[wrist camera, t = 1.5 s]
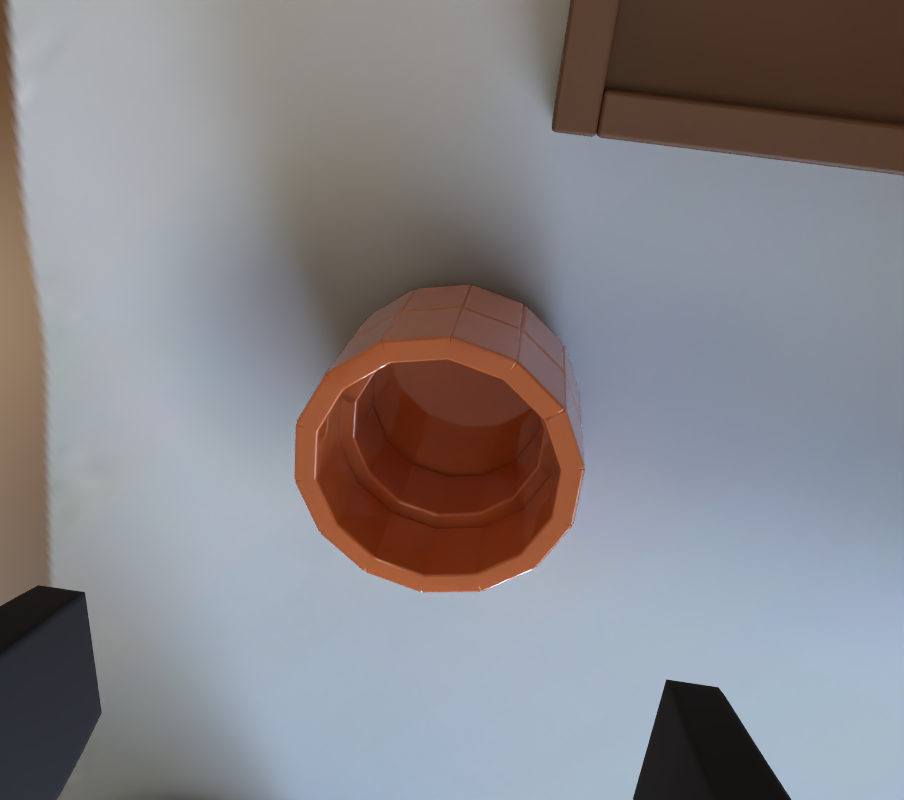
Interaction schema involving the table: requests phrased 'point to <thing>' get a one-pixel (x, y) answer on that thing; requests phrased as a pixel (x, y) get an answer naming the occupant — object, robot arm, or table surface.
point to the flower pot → (445, 442)
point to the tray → (740, 78)
